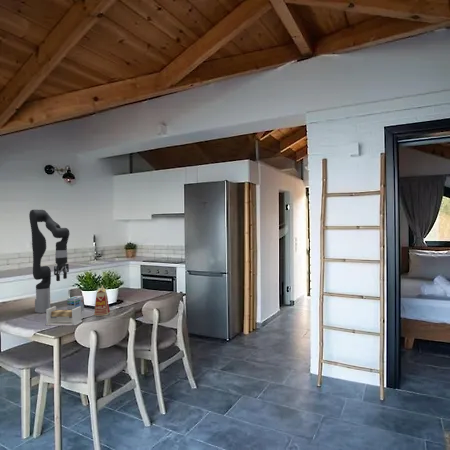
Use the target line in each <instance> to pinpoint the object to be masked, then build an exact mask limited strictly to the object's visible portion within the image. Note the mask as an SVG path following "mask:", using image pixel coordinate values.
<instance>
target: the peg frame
mask: <svg viewBox="0 0 450 450" xmlns="http://www.w3.org/2000/svg"><path fill="white" fill-rule="evenodd" d="M55 310H57V306H56V305H53V306H52V307H51V306H50V308H49V309H46V312H45V313H46V319H45V320H46V324H45V326H77V325H79V324H81V323H82V322H83V320H82V311H81V306H79V307H77V308H75V309H72V317H52V311H55Z"/></svg>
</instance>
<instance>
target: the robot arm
mask: <svg viewBox="0 0 450 450" xmlns="http://www.w3.org/2000/svg"><path fill="white" fill-rule="evenodd" d="M28 215H29V223H30V231H31V245H32V246H31V248H32V249H31V250H32V276H33V279H34V280H36V281H39V280H41V281H40V282H38V283H37V284H35V298H34V313H38V314H40V313H41V314H43V313H46V309H49V308H51V282H52V279H51V278H52V271H51V268H50V266H48V265H44V266H41V262H42V259H43V256H44V254H45V253H46V250H47V239H46V237H45V235H44V234H43V233H42V232H41V230H40V228H39V224H38V223H45V227H46V229H47V230H48V231H50V233H51V234H52V237H53V238H56V239H61V240H60V241H57V242H56V243H55V252H54V253H55V264H56V265H54V266H53V276H55V277H56V278H55V279H56V281H57V282H59V281H61V274H63V277H62V278H63V279H64V280H66V279H68V273H69V270H70V268H69V266H70V265H69V263H68V248H67V247H68V241H69V238H70V230H69V229H68V228H67V227H62V226H60V224H58V222H55V220H54V219H53V218H52V216H50V215H49V213H48V212H47V211H46V210H45V209H31V210H30V211H29V213H28Z"/></svg>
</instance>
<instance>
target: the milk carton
mask: <svg viewBox="0 0 450 450" xmlns="http://www.w3.org/2000/svg"><path fill="white" fill-rule="evenodd" d="M110 313H111V310H110V305H109V298H108V293H107V289H106V288H105V287H104V285H101V287H100V288H98V290H97V291H96V295H95V303H94V314H93V315H94V316H98V317H99V316H101V317H102V316H108V315H109V314H110Z"/></svg>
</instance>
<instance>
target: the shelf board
mask: <svg viewBox="0 0 450 450" xmlns="http://www.w3.org/2000/svg"><path fill="white" fill-rule="evenodd" d="M52 317H72V310H67V309H56V310H55V311H52Z"/></svg>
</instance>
